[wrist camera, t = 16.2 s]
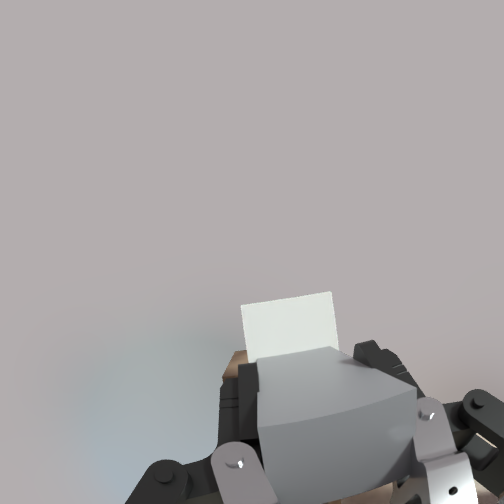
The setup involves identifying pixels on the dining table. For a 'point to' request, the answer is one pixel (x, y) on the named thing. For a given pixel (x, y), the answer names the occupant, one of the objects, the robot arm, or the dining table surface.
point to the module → (323, 406)
